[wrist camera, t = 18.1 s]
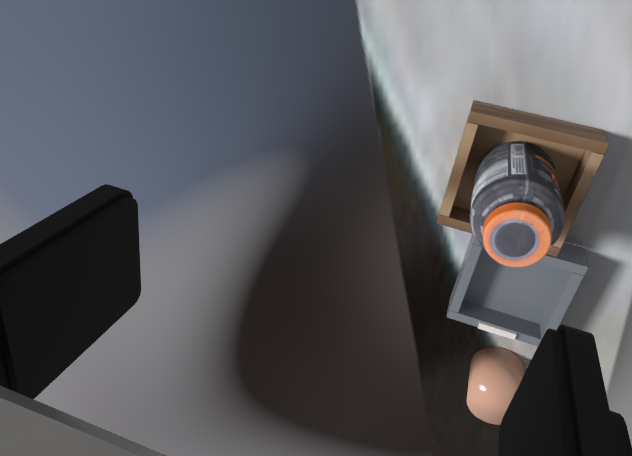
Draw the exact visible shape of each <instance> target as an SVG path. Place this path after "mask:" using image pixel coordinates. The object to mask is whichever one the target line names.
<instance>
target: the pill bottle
mask: <svg viewBox="0 0 632 456" xmlns="http://www.w3.org/2000/svg"><path fill="white" fill-rule="evenodd" d="M564 223H565V212H564V207H563V202H562V198H561V193H560V189H559V183H558V179H557V175H556V170H555V166H554V163H553V161H552V159H551V158H550V156H549V155H548V154H547V153H546V152H545V151H544V150H542V149H541V148H540V147H538V146H536V145H534V144H531V143H528V142H523V141H512V142H506V143H503V144H500V145H498V146H496V147H494V148H493V149H491V150H490V151H489V152H488V153H487V154H486V155H485V156H484V157H483V158H482V159H481V161H480V163H479V165H478V168H477V172H476V177H475V183H474V189H473V194H472V200H471V211H470V225H471V229H472V232H473V235H474V236H475V238H476V240H477V241H478V242H479V244H480V245H481V246H482V247H483V248H484V249H486V251H487V253H488V254H489V255H490V256H491V257H492V258H493V259H494V260H495V261H497V262H498V263H500V264H502V265H505V266H509V267H526V266H529V265H532V264H534V263H536V262H538V261H539V260H541V259H542V258H543V257H544V256H545V255H546V254H547V252H548V250H549V248H550V247H551V246H552V245H554V244H555V242H556V241H557V240H558V238H559V237H560V235H561V233H562V231H563V227H564Z"/></svg>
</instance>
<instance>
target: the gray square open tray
mask: <svg viewBox="0 0 632 456" xmlns="http://www.w3.org/2000/svg"><path fill="white" fill-rule="evenodd" d="M587 269H588V263H587V259H586V255H585V251H584V249H583V248H579V247H576V246H572V245H569V244H565V243H563V244H562V247H561V248H560V251H559V253H558V255H557V257H554V256H551V255H547V254H546V255H545V256H544V257H543V258H542V259H541V260H539V261H538V262H536V263H534V264H532V265H529V266H526V267H509V266H505V265H502V264H500V263H498V262H497V261H495V260H494V259H493V258H492V257H491V256H490V255H489V254H488V253H487V251H486V249H484V248H483V247H482V246H481V245H480V244H479V242H478V241H477V240H476V238H475V236H474V235H472V237H471V240H470V243H469V246H468V249H467V252H466V254H465V257H464V260H463V263H462V266H461V269H460V271H459V274H458V277H457V280H456V283H455V286H454V288H453V291H452V294H451V297H450V301H449V307H448V312H447V317H448V318H451V319H454V320H457V321H460V322H463V323H467V324H470V325H473V326H476V327H478V328H479V329H482V330H485V331H488V332H491V333H494V334H497V335H500V336H504V337H507V338H510V339H513V340H515V339H517V340H520V341H523V342H526V343H529V344H532V345H535V346H539V344H540V342H541V340H542V338H543V336H544V334H545V332H546V330H547V329H549V328H550V329H553V330H557V328H558V326H559V324H560V322H561V320H562V318H563V316H564V314H565V312H566V310H567V308H568V306H569V305H570V303H571V301H572V299H573V297H574V295H575V293H576V291H577V289H578V287H579V285H580V283H581V281H582V279H583V277H584V275H585V273H586V271H587Z"/></svg>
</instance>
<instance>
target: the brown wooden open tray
mask: <svg viewBox="0 0 632 456" xmlns="http://www.w3.org/2000/svg"><path fill="white" fill-rule="evenodd" d="M512 141H523V142H528V143H531V144H534V145H536V146H538V147H540V148H541V149H542V150H544V151H545V152H546V153H547V154H548V155H549V156H550V158H551V159H552V161H553V163H554V166H555V170H556V175H557V179H558V183H559V189H560V193H561V198H562V202H563V207H564V212H565V223H564V227H563V231H562V233H561V235H560V237H559V238H558V240H557V241H556V242H555V244H554V245H552V246H551V247H550V248H549V250H548V252H547V255H551V256H554V257H557V255H558V253H559V251H560V248H561V247H562V244H563V242H564V240H565V238H566V236H567V234H568V232H569V229H570V227H571V225H572V223H573V221H574V219H575V217H576V214H577V212H578V210H579V208H580V206H581V204H582V202H583V199H584V197H585V195H586V193H587V191H588V189H589V186H590V184H591V182H592V180H593V178H594V176H595V174H596V171H597V169H598V167H599V165H600V163H601V161H602V159H603V156H604V154H605V152H606V150H607V148H608V146H609V142H608V140H607V138H606V136H605V134H604V132H603V130H600V129H596V128H591V127H587V126H583V125H578V124H574V123H570V122H565V121H561V120H557V119H552V118H548V117H544V116H539V115H535V114H530V113H526V112H522V111H517V110H513V109H509V108H504V107H500V106H496V105H491V104H487V103H483V102H478V101H474V100H473V104H472V107H471V110H470V113H469V117H468V120H467V123H466V127H465V130H464V133H463V136H462V140H461V143H460V146H459V149H458V153H457V156H456V159H455V162H454V166H453V169H452V172H451V176H450V179H449V182H448V185H447V189H446V192H445V195H444V198H443V202H442V205H441V208H440V212H439V216H438V219H437V223H438V224H441V225H445V226H448V227H452V228H455V229H459V230H462V231H466V232H469V233H473V232H472V229H471V225H470V211H471V200H472V194H473V189H474V183H475V177H476V172H477V168H478V165H479V163H480V161H481V159H482V158H483V157H484V156H485V155H486V154H487V153H488V152H489V151H490V150H491V149H493V148H494V147H496V146H498V145H500V144H503V143H506V142H512Z"/></svg>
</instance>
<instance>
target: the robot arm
mask: <svg viewBox="0 0 632 456" xmlns="http://www.w3.org/2000/svg"><path fill="white" fill-rule="evenodd" d="M138 228H139V227H138V205H137V202H136V200H135V199H133V196H132V194H131V193H130V192H129V191H127V190H124V189H121V188H118V187H114V186H111V185H106V184H105V185H103V186H100V187H99V188H97V189H95V190H94V191H92V192H90V193H88V194H87V195H85V196H83V197H82V198H80V199H78V200H76V201H74V202H73V203H71V204H69V205H68V206H66V207H64V208H62V209H61V210H59V211H57V212H55V213H54V214H52V215H50V216H49V217H47V218H45V219H43V220H42V221H40V222H38V223H36V224H35V225H33V226H31V227H30V228H28V229H26V230H24V231H23V232H21V233H19V234H17V235H16V236H14V237H12V238H10V239H9V240H7V241H5V242H4V243H2V244H0V456H167V455H165V454H162V453H160V452H157V451H155V450H153V449H150V448H148V447H146V446H143V445H141V444H139V443H136V442H134V441H132V440H129V439H127V438H124V437H122V436H120V435H117V434H115V433H113V432H110V431H108V430H105V429H103V428H101V427H98V426H96V425H93V424H91V423H89V422H86V421H84V420H82V419H79V418H77V417H74V416H72V415H69V414H67V413H65V412H62V411H59V410H57V409H55V408H53V407H50V406H48V405H45V404H43V403H40V402H38V401H36V400H33V399H34V398H35V397H36V396H37V395H39V394H40V393H41V392H42V391H43V390H44V389H45V388H46V387H47V386H48V385H49V384H50V383H51V382H52V381H53V380H55V378H57V377H58V376H59V375H60V374H61V373H62V372H63V371H64V370H65V369H66V368H67V367H68V366H69V365H70V364H72V363H73V362H74V361H75V360H76V359H77V358H78V357H79V356H80V355H81V354H82V353H83V352H84V351H85V350H86V349H88V347H90V346H91V345H92V344H93V343H94V342H95V341H96V340H97V339H98V338H99V337H100V336H101V335H102V334H103V333H105V332H106V331H107V330H108V329H109V328H110V327H111V326H112V325H113V324H114V323H115V322H116V321H117V320H118V319H119V318H120V317H122V316H123V315H124V314H125V313H126V312H127V311H128V310H129V309H130V308H131V307H132V306H133V305H134V304H135V303H136V302H137V300H138V298H139V296H140V292H141V278H140V253H139V229H138ZM498 456H632V447H631V443H630V439H629V435H628V430H627V426H626V423H625V420H624V418H623V417H622V416H621V415H620V414H619V413H616V412H612V411H610V410H609V406H608V401H607V396H606V391H605V386H604V382H603V377H602V372H601V367H600V363H599V358H598V353H597V348H596V343H595V339H594V336H593V335H592V334H591V333H588V332H585V331H581V330H578V329H575V328H572V327H568V326H565V325H560V326H559V327H558V329H557V330H553V329H550V328H549V329H547V330H546V332H545V334H544V336H543V338H542V340H541V342H540V344H539V346H538V348H537V350H536V352H535V354H534V356H533V358H532V360H531V362H530V364H529V366H528V368H527V370H526V372H525V374H524V376H523V378H522V380H521V382H520V384H519V386H518V388H517V390H516V392H515V394H514V396H513V398H512V400H511V402H510V404H509V406H508V408H507V410H506V412H505V414H504V416H503V419H502V422H501V425H500V430H499V449H498Z"/></svg>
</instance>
